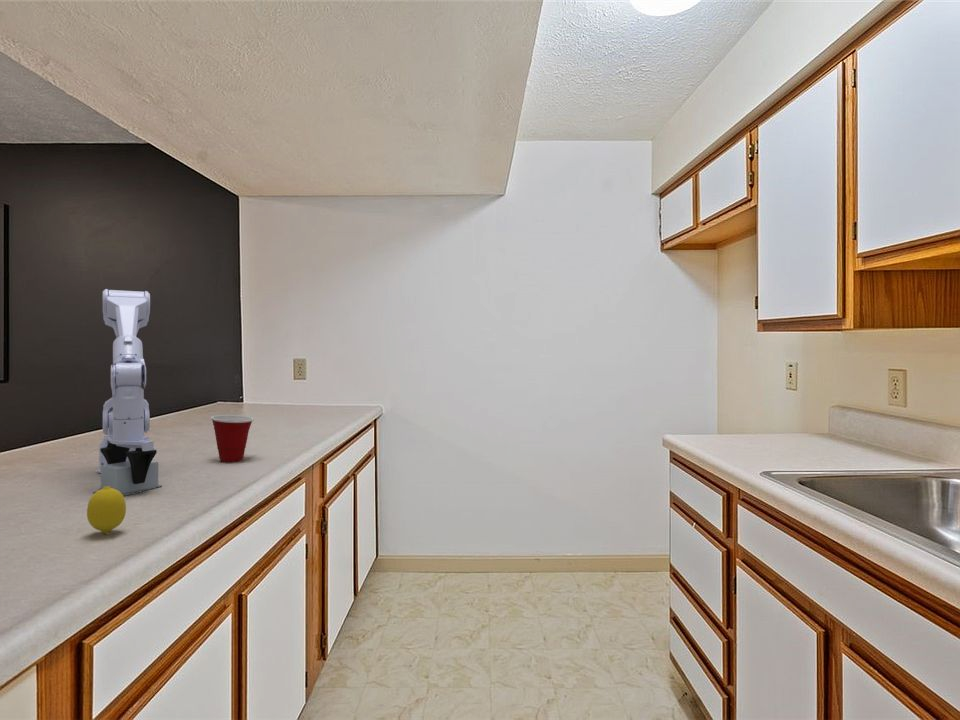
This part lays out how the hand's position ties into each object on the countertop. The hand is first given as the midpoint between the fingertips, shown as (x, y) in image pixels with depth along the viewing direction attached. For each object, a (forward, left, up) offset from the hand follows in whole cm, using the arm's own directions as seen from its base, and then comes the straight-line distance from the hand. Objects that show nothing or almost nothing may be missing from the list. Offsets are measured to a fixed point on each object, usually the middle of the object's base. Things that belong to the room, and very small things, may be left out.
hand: (128, 481), depth 129 cm
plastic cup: (-4, +34, -2) cm, 34 cm away
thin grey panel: (0, 0, -2) cm, 2 cm away
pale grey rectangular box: (0, 0, -2) cm, 2 cm away
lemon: (+23, -22, -2) cm, 32 cm away
